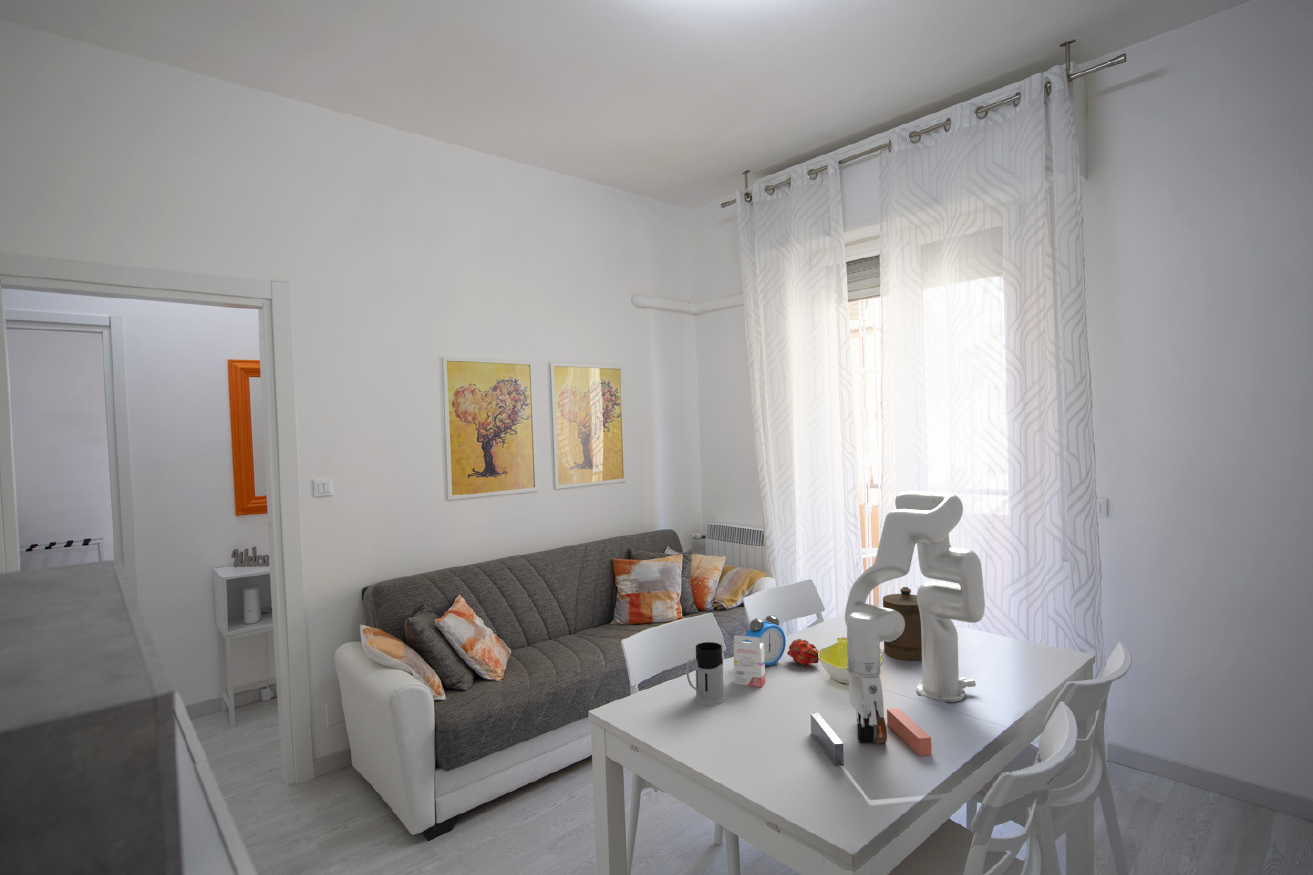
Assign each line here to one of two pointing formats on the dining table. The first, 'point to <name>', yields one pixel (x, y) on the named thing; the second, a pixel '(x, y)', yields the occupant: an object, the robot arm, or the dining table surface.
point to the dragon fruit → (803, 652)
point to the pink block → (909, 731)
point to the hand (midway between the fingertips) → (865, 740)
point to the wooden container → (910, 639)
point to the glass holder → (708, 674)
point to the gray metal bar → (827, 739)
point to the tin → (880, 731)
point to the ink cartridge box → (749, 661)
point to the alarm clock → (768, 638)
